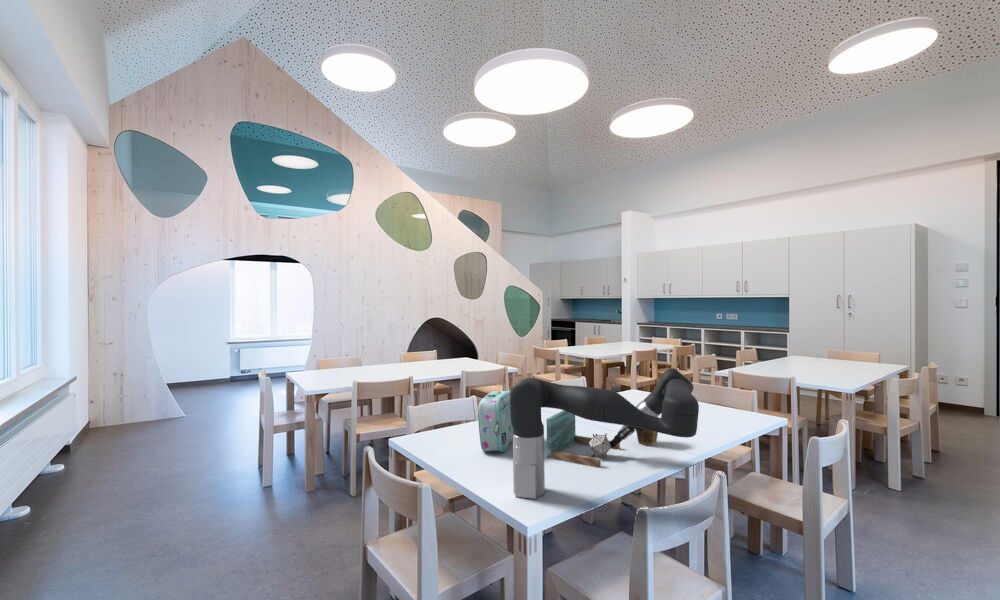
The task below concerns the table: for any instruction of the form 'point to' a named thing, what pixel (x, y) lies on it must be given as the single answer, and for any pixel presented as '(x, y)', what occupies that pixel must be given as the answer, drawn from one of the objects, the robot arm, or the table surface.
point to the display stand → (567, 440)
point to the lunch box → (495, 421)
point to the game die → (599, 445)
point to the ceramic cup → (647, 437)
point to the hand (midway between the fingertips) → (610, 445)
